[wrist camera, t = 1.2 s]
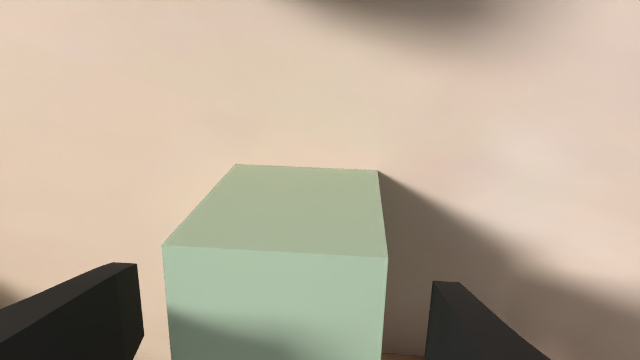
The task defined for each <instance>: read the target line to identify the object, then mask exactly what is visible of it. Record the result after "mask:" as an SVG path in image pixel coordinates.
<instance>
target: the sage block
mask: <svg viewBox="0 0 640 360" xmlns="http://www.w3.org/2000/svg"><path fill="white" fill-rule="evenodd" d="M162 255H163V267H164V279H165V290H166V302H167V314H168V325H169V337H170V349H171V360H381V349H382V336H383V322H384V309H385V295H386V282H387V268H388V252H387V244H386V236H385V228H384V219H383V211H382V203H381V195H380V187H379V179H378V171H377V170H357V169H334V168H312V167H290V166H267V165H245V164H235V165H234V166H233V167H232V168H231V170H230V171H229V172H228V173H227V174H226V175H225V176H224V177H223V178H222V179H221V180H220V182H219V183H218V184H217V185H216V186H215V187H214V188H213V189H212V190H211V191H210V193H209V194H208V195H207V196H206V197H205V198H204V199H203V200H202V201H201V202H200V204H199V205H198V206H197V207H196V208H195V209H194V210H193V211H192V212H191V213H190V214H189V216H188V217H187V218H186V219H185V220H184V221H183V222H182V223H181V224H180V225H179V227H178V228H177V229H176V230H175V231H174V232H173V233H172V234H171V235H170V236H169V237H168V239H167V240H166V241H165V242H164V243H163V244H162Z"/></svg>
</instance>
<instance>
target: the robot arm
mask: <svg viewBox="0 0 640 360" xmlns="http://www.w3.org/2000/svg"><path fill="white" fill-rule="evenodd" d="M143 337H144V328H143V318H142V309H141V299H140V289H139V280H138V270H137V264H132V263H115V262H113V263H109V264H106V265H103V266H100V267H98V268H95V269H93V270H90V271H88V272H86V273H83V274H81V275H79V276H77V277H74V278H72V279H70V280H68V281H65V282H63V283H61V284H59V285H56V286H54V287H52V288H50V289H47V290H45V291H43V292H41V293H38V294H36V295H34V296H32V297H29V298H27V299H24V300H22V301H19V302H17V303H15V304H12V305H10V306H7V307H5V308H2V309H0V360H133V358H134V356H135V354H136V352H137V350H138V348H139V345H140V343H141V341H142V339H143ZM425 359H426V360H551V359H549V358H548V357H546V356H545V355H544V354H542V353H541V352H540V351H538V350H537V349H536V348H535V347H533V346H532V345H531V344H529V343H528V342H527V341H525V340H524V339H523V338H522V337H520V336H519V335H518V334H517V333H516V332H514V331H513V330H512V329H511V328H510V327H508V326H507V325H506V324H505V323H504V322H503V321H501V320H500V319H499V318H498V317H497V316H496V315H495V314H494V313H492V312H491V311H490V310H489V309H488V308H487V307H486V306H485V305H484V304H483V303H481V302H480V301H479V300H478V299H477V298H476V297H475V296H474V295H473V294H472V293H471V292H470V291H468V290H467V289H466V288H465V287H464V286H463V285H462V284H460V283H459V282H442V281H433V283H432V293H431V302H430V311H429V321H428V330H427V339H426V349H425Z"/></svg>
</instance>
